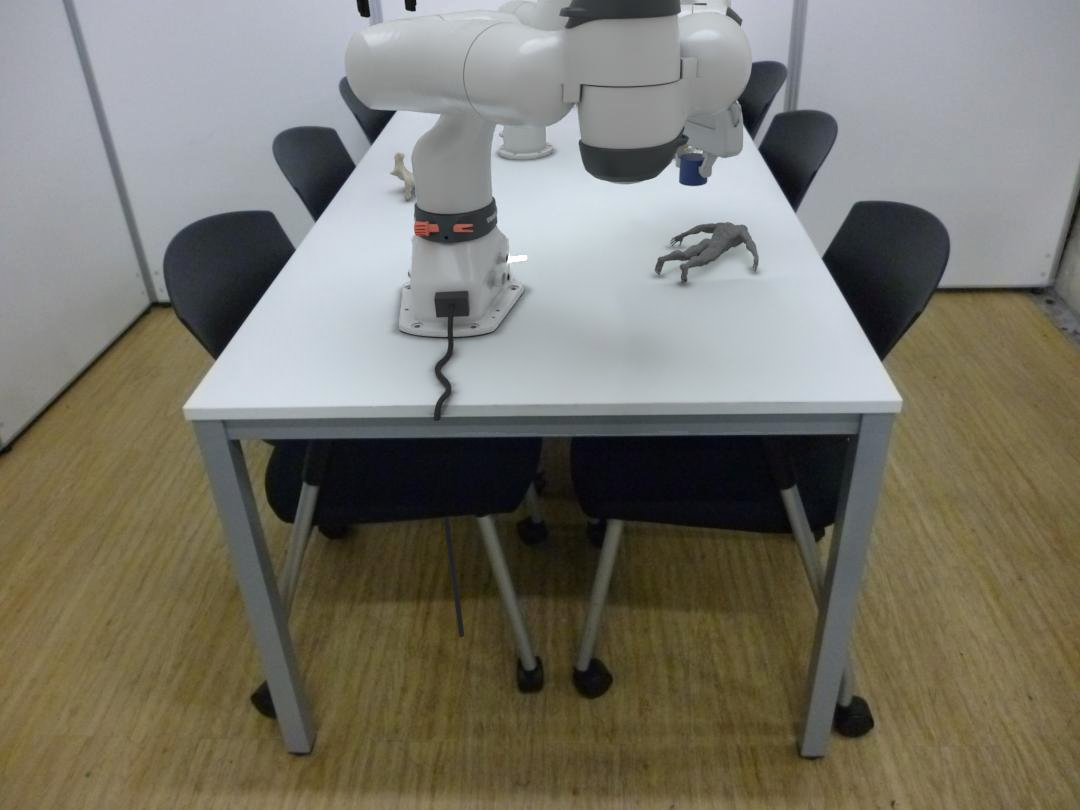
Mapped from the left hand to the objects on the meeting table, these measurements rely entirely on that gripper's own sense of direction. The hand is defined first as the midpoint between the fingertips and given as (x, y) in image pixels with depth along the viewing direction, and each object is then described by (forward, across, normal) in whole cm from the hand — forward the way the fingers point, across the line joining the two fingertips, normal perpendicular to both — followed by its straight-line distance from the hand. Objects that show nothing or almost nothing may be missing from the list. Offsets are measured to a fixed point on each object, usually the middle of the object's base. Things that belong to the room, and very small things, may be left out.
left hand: (692, 171), depth 141 cm
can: (+2, 0, 0) cm, 2 cm away
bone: (+10, +47, +32) cm, 58 cm away
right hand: (-22, +57, +30) cm, 68 cm away
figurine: (+10, -12, +6) cm, 17 cm away
